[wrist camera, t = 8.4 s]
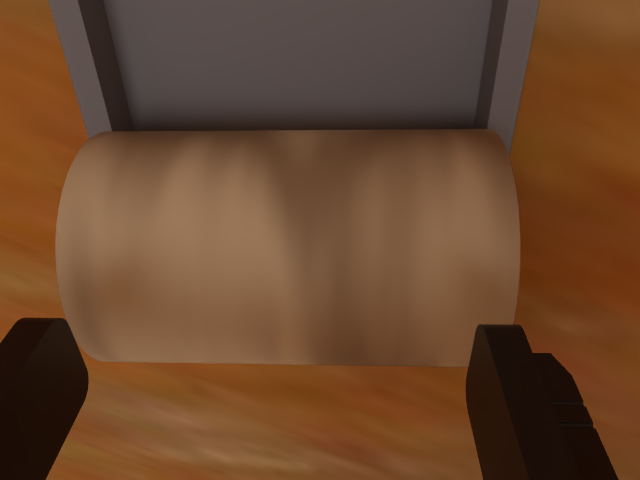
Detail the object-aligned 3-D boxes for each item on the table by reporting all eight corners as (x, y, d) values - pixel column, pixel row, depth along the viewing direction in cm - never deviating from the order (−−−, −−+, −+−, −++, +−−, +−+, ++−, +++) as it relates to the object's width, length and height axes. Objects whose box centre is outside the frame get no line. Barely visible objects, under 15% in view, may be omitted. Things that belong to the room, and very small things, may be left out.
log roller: (475, 93, 17) (542, 208, 11) (450, 268, 21) (489, 419, 15) (128, 97, 17) (20, 208, 12) (169, 266, 21) (103, 412, 16)
